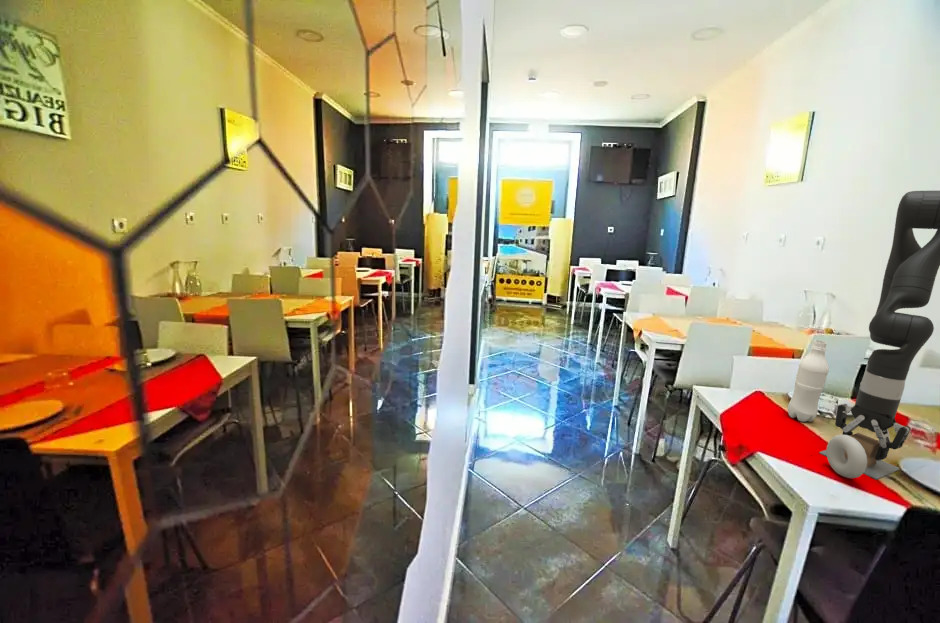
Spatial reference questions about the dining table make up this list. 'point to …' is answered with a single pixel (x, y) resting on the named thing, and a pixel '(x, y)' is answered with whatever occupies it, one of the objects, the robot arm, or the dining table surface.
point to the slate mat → (875, 468)
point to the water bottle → (809, 383)
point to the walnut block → (867, 447)
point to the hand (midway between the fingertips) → (861, 452)
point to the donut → (855, 456)
